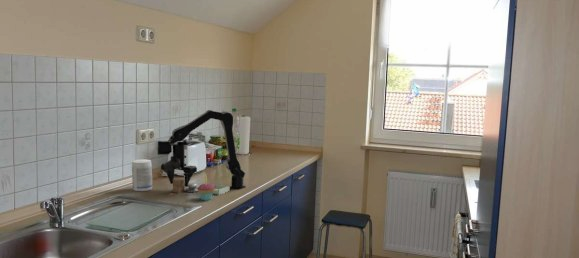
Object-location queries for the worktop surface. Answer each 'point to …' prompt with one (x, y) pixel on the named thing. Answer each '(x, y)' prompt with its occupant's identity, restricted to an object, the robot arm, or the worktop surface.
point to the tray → (221, 189)
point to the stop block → (178, 185)
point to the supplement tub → (142, 175)
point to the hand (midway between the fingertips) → (178, 184)
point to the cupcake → (206, 190)
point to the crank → (191, 185)
